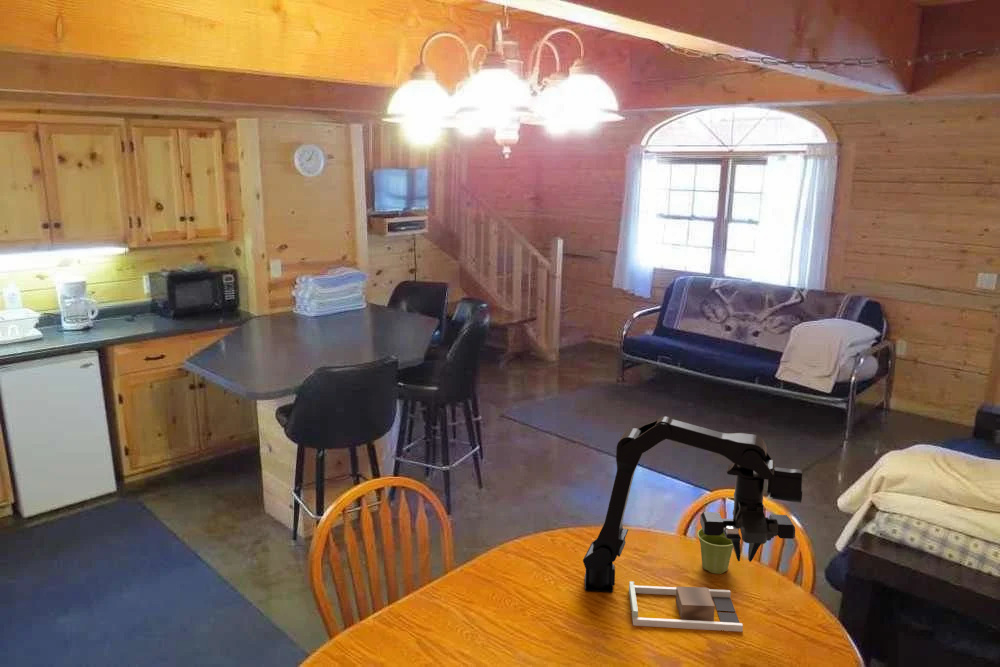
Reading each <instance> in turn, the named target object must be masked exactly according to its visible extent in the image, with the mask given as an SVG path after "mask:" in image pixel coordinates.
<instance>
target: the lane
mask: <svg viewBox="0 0 1000 667" xmlns="http://www.w3.org/2000/svg"><path fill="white" fill-rule="evenodd" d="M628 583H629V584H628V594H629V595H630V596H629V602H630V603H629V604H630V610H631V611H632V612H631V618H632V619H631V620H632V626H638V627H651V628H652V627H653V628H654V627H656V628H673V629H689V630H704V631H705V630H707V631H721V630H722V631H723V630H724V631H723V632H741V633H742V632H743V629H744V628H743V627H744V625H743V622H739V623H730V622H720V621H694V620H681V619H675V618H674V619H673V618H659V617H658V618H655V617H641V616H640V617H639V609H638V603H637V595H636V594H643V595H644V594H646V595H647V594H648V595H666V596H667V595H668V596H676V587H677V586H676V587H675V586H674V587H673V586H672V587H671V586H659V585H658V586H654V585H640V584H639V585H637V584H635V581H629V582H628ZM708 589H709V592H710V595H711V597H712V598H713V597H726V598H731V595H732V594H731V593H732V592H731V590H730V589H715V588H713V589H712V588H711V589H710V588H708Z"/></svg>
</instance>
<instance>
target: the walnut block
mask: <svg viewBox="0 0 1000 667" xmlns="http://www.w3.org/2000/svg"><path fill="white" fill-rule="evenodd" d="M709 589H710V588H708V587H700V586H676V595H675V603H676V607H677V610H679V611H678V614H679V617H681V618H680V620H694V621H712V622H715V610H716V607H715V603H714V600H713V597H711V595H710V592H709Z"/></svg>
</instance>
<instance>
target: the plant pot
mask: <svg viewBox="0 0 1000 667" xmlns="http://www.w3.org/2000/svg"><path fill="white" fill-rule="evenodd" d="M696 533H697V534H696V535H697V537H698V540H699V543H700V556H701V566H702V568H703V569H704V570H706V571H708V572H709V573H712V574H715V575H716V574H718V575H719V574H720V575H721V574H723V573H725V572H727V571H728V570H729V565H730V562H731V561H730V560H731V557H732V552H733V549H734V547H733V543H732V540H731V539H728V538H726V536H725V534H724V532H723V533H722V534H721V535H720V536H715V535H706V534H704V532H703V529H702V527H701V528H700V529H699V530H697V532H696Z"/></svg>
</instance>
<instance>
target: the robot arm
mask: <svg viewBox="0 0 1000 667" xmlns="http://www.w3.org/2000/svg"><path fill="white" fill-rule="evenodd" d="M665 440H669V441H673V442H675V443H676V442H677V443H680V444H683V445H687V446H690V447H693V448H697V449H701V450H704V451H707V452H712V453H715V454H717V455H719V456H722V457H725V458H726V459H727V460H729V461H730V462H731V464H728V465H727V468H726V469H727V470H726V473H727V475H730V476H735V485H734V486H735V487H734V493H733V498H734V500H733V501H734V502H733V509H732V515H733V516H732V518H722V515H721V514H720V512H716V511H714V512H713V511H703V512H702V513H701V514H700V518H699V523H700V526H701V528H702V529H703V532H704V534H706V535H715V536H720V535H721V534H722V533H723V532H724V534H725V536H726V538H728V539H731V540H732V543H733V549H734V553H735V557H736V560H737V562H740V561H741V539H742V541H743V542H744V543H745V544H748V552H747V553H748V554H747V560H748V561H749V562H750V563H751V562H753V560H754V557H755V556H756V554H757V552H758V550H759V549H760V547H761V545H764V544H766V543H767V541H771V540H772V539H774V537H778V538H779V539H787V540H793V539H795V538H796V527H795V526H796V525H794V523H793V522H792V520H791V518H790V517H789V516H788V515H787V514H771V513H770V515H769V517H766V515H765V512H764V511H765V510H764V506H765V505H764V504H763V503H764V490H765V480H767V487H766V488H767V489H766V490H767V491H766V494H769V498H772V500H779V501H785V502H792V503H798V504H801V503H802V499H803V498H802V497H803V470H802V469H798V468H785V467H784V468H783V467H778V466H777V467H776V466H775V461H774V460H773V458H772V457H771V455H770V454H769V453H768V451H767V449H768V448H767V444H766V442H765V441H764V438H762V437H761V436H759V435H757V434H753V433H751V434H750V433H743V432H735V433H734V432H733V433H732V432H731V433H727V432H726V433H725V432H721V431H717V430H714V429H709V428H706V427H702V426H700V425H695V424H692V423H688V422H684V421H680V420H677V419H674V418H671V417H669V416H661V417H660V418H658V419H656V420H653V421H651V422H649V423H645V424H644V425H641V426H640V427H638V428H634V427H633V428H629V429H627V430H625V431H624V433H623V434H622V436H621V437H620V439H619V441H618V443H617V445H616V452H615V454H616V455H615V456H616V457H615V464H616V473H615V478H614V482H613V484H612V486H613V487H612V490H611V494H610V499H609V502H608V507H607V511H606V515H605V519H604V523H603V526H602V527H601V530H600V531H599V534H598V536H597V538H596V539H594V540H593V541H592V542H591V543H590V545H589V547H588V549H587V551H586V553H585V555H584V556H583V559H582V562H583V564H584V565H583V566H584V568H585V572H584V573H585V574H584V590H585V591H587V592H598V593H599V592H600V593H601V592H603V593H613V592H614V586H615V585H616V566H615V564H614V562H615V561H616V558H617V557H618V558H620V557H621V555H622V552H623V550H624V548H625V545H626V537H627V535H628V532H629V529H627V528H624V524H623V520H624V516H625V512H626V508H627V503H628V500H629V495H630V491H631V489H632V488H631V487H632V484H633V480H634V475H635V473H636V469H637V466H638V464H639V462H640V460H641V458H642V456H643V454H644V453H646V452H648V451H649V450H651V449H652V448H653V447H655V446H656V445H658V444H659V443H661V442H663V441H665ZM739 531H740V533H741V534H740V533H739Z"/></svg>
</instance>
